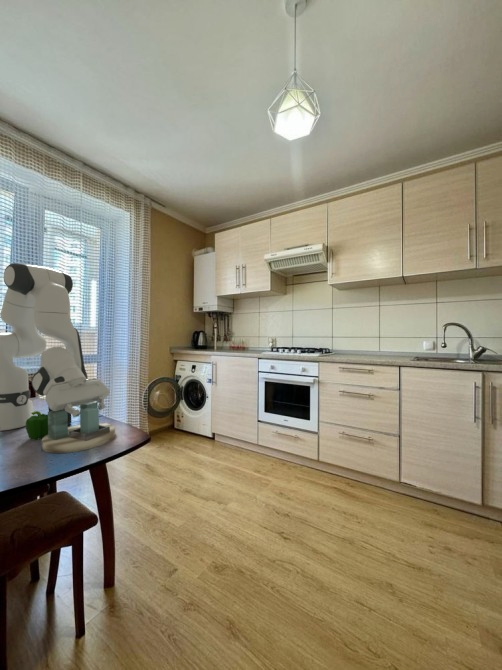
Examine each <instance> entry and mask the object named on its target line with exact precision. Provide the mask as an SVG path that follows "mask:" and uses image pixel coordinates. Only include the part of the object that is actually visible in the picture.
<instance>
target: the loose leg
mask: <svg viewBox="0 0 502 670" xmlns="http://www.w3.org/2000/svg"><path fill="white" fill-rule="evenodd" d="M99 411H100V410H99V408H98V407H97V408H94V407H89V408H86V409H82V410H80V409H79V412H80V415H79V418H80V419H79V423H80V424H79V425H80V433H84V434H89V433H92V432H94V431H97V430H99V423H100V414H99Z"/></svg>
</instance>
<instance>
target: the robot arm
mask: <svg viewBox="0 0 502 670" xmlns="http://www.w3.org/2000/svg"><path fill="white" fill-rule="evenodd" d="M3 281H4V284H5V286H6V287H7V289H6V292H5V295H4V298H3V303H2V306H1V310H0V311H1V312H0V318H1V320H2V322H4V323H5V324H6V325H8V326H10V327H12V330H11V332H0V432H1V431H9V430H14V429H18V428H23V427H26V421H27V419H29V418H30V417H31V416H35V414H34V415H32V412H35V411H34V405H33V404H34V403H33V401H32V400H30V398H31V389H29V386H30V385H29V373H28V371H27V370H26V369H25V368H23V367H20V366H17V365H16V364H15V363H14V360H13V359H23V358H31V357H35V356H36V357H37V356H39V355H40V362H41V363H40V367H39V369H38V370H37V371H36V372H35V373H34V374H33V376H32V378H31V380H30V381H31V382H30V384H31V387H32V389H33V391H34V392H35V393H36V394H37V395H39V396H42V397H44V396H45V402H46V405H47V406H49V408H50V409H51V410H53V411H57V410H61V409H65V411H67V412H68V413H70V414H71V416H72V417H73V418H77V417H80V409H75V408H74V407H76V406H80V405H82V404H86V403H90V402H97V403H99V404H98V405H97V408H99V411H101V410H104V409H105V408H106V404H105V400H106V399H107V397H108V396H109V395H110V389H109V388H108V387H107V386H106V385H105V383H104V382H103V381H101V379H98V378H95V377H94V378H89V379H88V373H87V371H86V367H85V362H84V354H83V347H82V342H81V336H80V334H79V333H80V332H79V331H78V328H76V327H74V325H73V322H72V320H71V303H70V302H71V301H70V295H69V294H70V293H71V292H72V290H73V287H74V282H73V279H72V277H71V275H70V274H69V273H67V272H64V271H62V270H58V269H53V268H50V267H46V266H38V265H34V264H33V265H31V264H25V263H19V262H18V263H17V262H16V263H15V262H14V263H13V262H12V263H10V264H9V265H7V266H6V267H5V268H4V272H3ZM42 334H43V335H44V336H46V337H48V338H52V339H54V340H57V341H59V342H61V343H62V344H63V345H64V346H65V347H63V346H53V347H49V348H47V341H46V339H45V337H44V336H43V335H42ZM46 348H47V349H46Z"/></svg>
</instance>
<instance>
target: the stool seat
mask: <svg viewBox="0 0 502 670" xmlns="http://www.w3.org/2000/svg"><path fill="white" fill-rule="evenodd" d="M79 406H80V407H79V411H80V410H82V409H86V408H89V407H94V408H98V402H97V401H94V402H90V403H86V404H82V405H79ZM47 415H48V435H46V436H45V437H43V438H41V450H42V451H43V452H45V453H49V454H68V453H69V454H70V453H77V452H81V451H86V450H87V451H88V450H89V449H93V448H96V447H97V448H98V447H99V446H100V447H101V446H102V445H104V444H106V443H109V442H110V441H112V440H113V439H114V438H115V437H116V427H115V425H113V424H112V423H111V424H110V423H105V422H99V430H97V431H94V432H92V433H89V434H84V433H80V424H77V425H72V426H68V414H67V411H65V410H64V409H61V410H57V411H49V410H48V411H47Z"/></svg>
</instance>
